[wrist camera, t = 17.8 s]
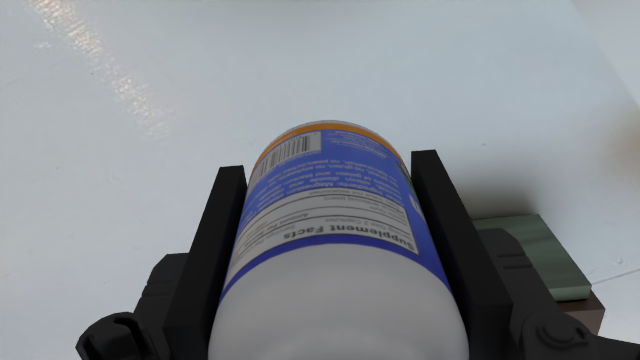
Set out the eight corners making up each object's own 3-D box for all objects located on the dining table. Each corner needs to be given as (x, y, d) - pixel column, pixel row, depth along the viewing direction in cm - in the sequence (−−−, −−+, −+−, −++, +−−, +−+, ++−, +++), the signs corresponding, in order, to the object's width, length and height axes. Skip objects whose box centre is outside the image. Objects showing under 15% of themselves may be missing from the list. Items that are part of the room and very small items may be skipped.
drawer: (390, 214, 35) (409, 287, 28) (540, 200, 34) (596, 270, 28) (394, 342, 42) (410, 424, 36) (518, 332, 42) (557, 412, 35)
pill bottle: (393, 254, 17) (476, 595, 8) (247, 247, 16) (184, 592, 8) (422, 119, 14) (588, 428, 6) (247, 107, 14) (149, 415, 5)
